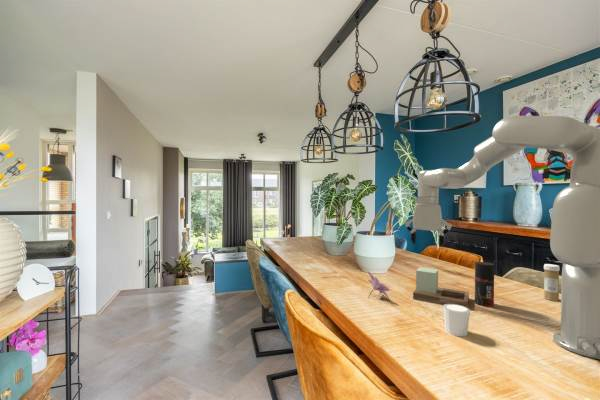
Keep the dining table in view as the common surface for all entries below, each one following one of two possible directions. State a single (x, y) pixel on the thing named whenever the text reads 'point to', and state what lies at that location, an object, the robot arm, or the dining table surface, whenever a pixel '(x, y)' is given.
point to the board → (444, 297)
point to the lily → (378, 285)
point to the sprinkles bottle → (551, 282)
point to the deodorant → (484, 284)
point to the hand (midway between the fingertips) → (426, 244)
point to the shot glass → (456, 319)
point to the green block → (427, 280)
